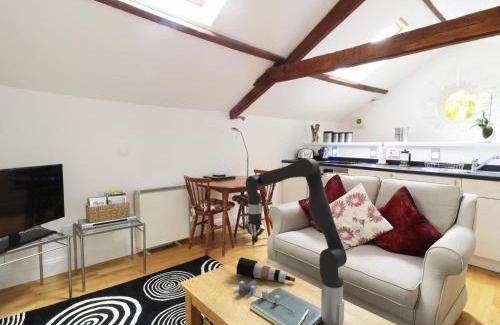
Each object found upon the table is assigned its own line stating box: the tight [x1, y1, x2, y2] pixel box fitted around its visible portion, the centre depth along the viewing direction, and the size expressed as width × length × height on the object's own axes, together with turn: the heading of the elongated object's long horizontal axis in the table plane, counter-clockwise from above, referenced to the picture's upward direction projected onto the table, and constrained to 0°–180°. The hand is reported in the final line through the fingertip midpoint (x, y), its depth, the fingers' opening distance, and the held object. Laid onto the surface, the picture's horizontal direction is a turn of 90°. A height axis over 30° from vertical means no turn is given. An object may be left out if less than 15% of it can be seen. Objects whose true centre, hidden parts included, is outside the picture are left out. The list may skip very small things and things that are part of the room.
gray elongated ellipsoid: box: [238, 279, 258, 296], centre depth 146 cm, size 14×4×4 cm, turn 142°
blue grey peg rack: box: [238, 280, 281, 303], centre depth 141 cm, size 24×2×4 cm, turn 52°
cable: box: [235, 257, 296, 284], centre depth 158 cm, size 10×34×10 cm, turn 72°
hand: (254, 242), depth 149 cm, fingers closed
